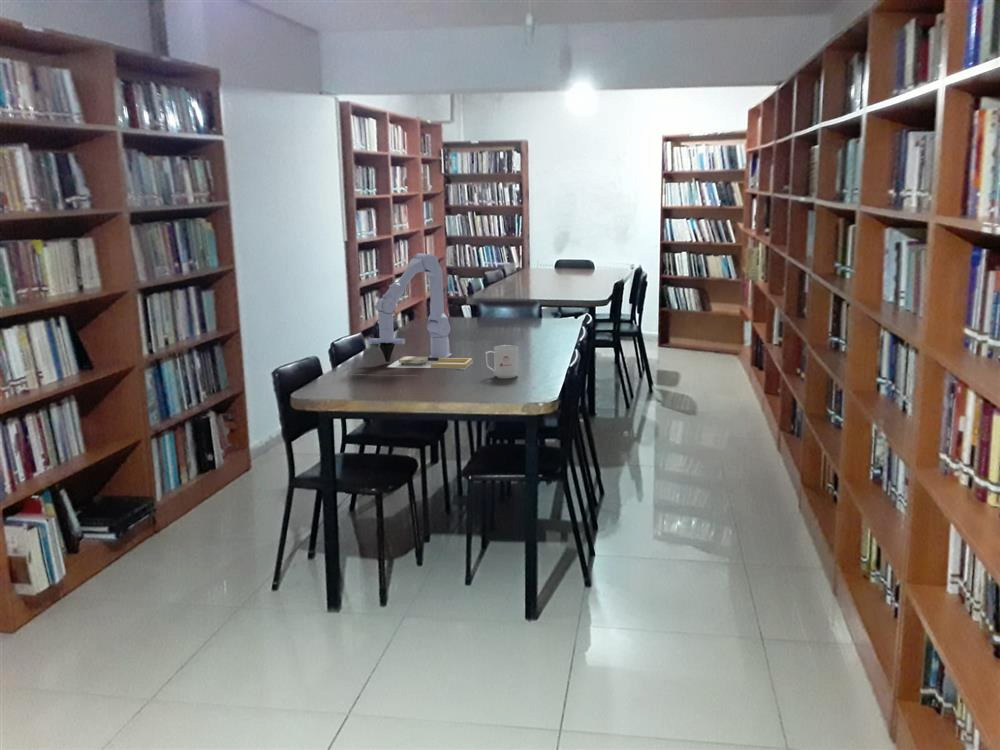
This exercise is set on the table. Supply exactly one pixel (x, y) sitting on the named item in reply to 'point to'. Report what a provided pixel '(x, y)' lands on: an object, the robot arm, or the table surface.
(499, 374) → the mug
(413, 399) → the table surface
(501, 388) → the table surface
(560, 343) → the table surface
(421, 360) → the beige flat block
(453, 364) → the board
